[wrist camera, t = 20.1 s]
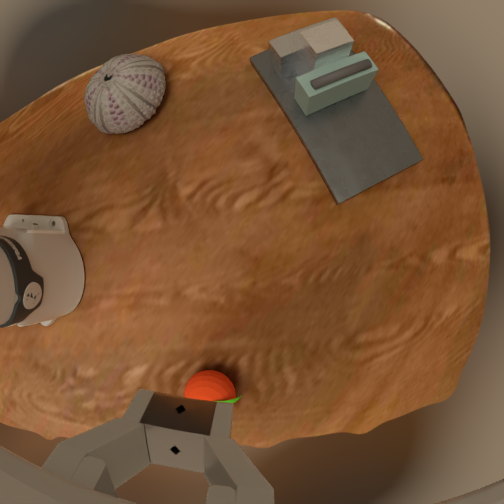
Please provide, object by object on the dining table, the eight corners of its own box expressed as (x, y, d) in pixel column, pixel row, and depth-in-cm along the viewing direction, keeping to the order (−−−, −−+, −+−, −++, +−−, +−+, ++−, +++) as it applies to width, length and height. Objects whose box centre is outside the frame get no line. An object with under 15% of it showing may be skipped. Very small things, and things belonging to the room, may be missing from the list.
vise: (418, 161, 39) (442, 148, 31) (336, 204, 40) (348, 197, 33) (330, 31, 39) (337, 2, 31) (250, 62, 40) (244, 34, 33)
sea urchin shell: (96, 149, 43) (67, 135, 35) (96, 78, 43) (71, 58, 35) (175, 124, 42) (154, 103, 34) (168, 52, 41) (150, 25, 33)
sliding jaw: (367, 89, 37) (381, 64, 30) (305, 116, 38) (310, 92, 31) (355, 72, 37) (367, 46, 30) (294, 98, 38) (296, 72, 31)
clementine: (240, 358, 42) (233, 380, 35) (250, 400, 42) (245, 426, 35) (186, 364, 43) (171, 385, 36) (198, 405, 43) (185, 430, 36)
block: (340, 79, 38) (354, 40, 28) (309, 91, 38) (316, 53, 28) (327, 60, 38) (336, 19, 28) (296, 72, 38) (299, 32, 28)
